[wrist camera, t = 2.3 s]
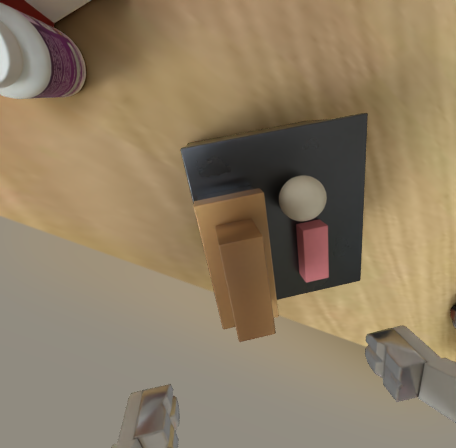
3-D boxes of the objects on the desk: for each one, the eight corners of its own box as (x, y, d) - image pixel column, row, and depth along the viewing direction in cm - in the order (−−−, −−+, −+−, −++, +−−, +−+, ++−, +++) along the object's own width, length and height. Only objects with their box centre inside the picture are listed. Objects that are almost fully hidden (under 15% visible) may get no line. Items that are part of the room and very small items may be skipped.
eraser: (295, 224, 19) (302, 230, 18) (319, 218, 20) (328, 225, 18) (299, 273, 21) (305, 282, 20) (321, 268, 21) (329, 277, 20)
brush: (252, 181, 18) (279, 205, 12) (267, 291, 22) (292, 347, 16) (193, 193, 18) (193, 222, 12) (219, 302, 21) (227, 363, 16)
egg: (312, 168, 18) (335, 175, 15) (314, 208, 19) (335, 222, 16) (270, 176, 18) (286, 185, 15) (275, 216, 19) (290, 232, 16)
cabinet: (311, 117, 26) (374, 111, 17) (316, 235, 32) (365, 279, 23) (185, 141, 26) (180, 148, 16) (211, 258, 31) (219, 313, 22)
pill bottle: (73, 22, 20) (-10, -28, 12) (96, 93, 23) (42, 94, 15) (6, 29, 20) (-127, -17, 12) (38, 100, 23) (-53, 105, 14)
